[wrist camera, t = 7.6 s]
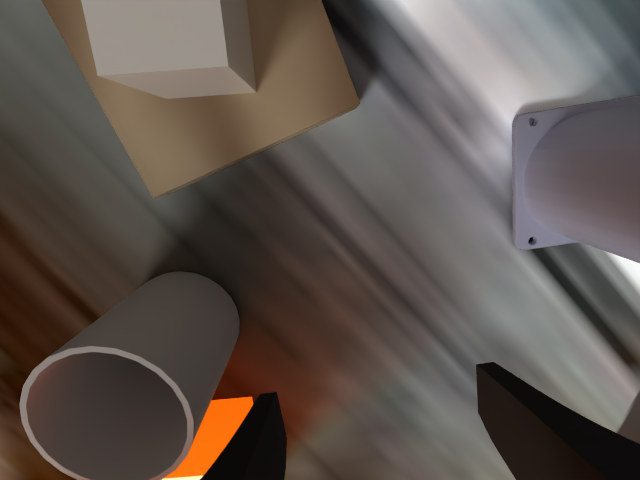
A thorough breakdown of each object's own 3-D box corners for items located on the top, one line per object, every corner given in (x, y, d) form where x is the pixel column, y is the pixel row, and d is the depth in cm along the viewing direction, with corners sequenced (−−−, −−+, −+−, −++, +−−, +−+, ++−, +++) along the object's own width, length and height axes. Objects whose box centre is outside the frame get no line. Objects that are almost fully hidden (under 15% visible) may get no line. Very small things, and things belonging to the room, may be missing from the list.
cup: (251, 282, 22) (206, 368, 13) (224, 407, 25) (172, 545, 16) (140, 256, 22) (21, 327, 13) (125, 386, 24) (16, 517, 16)
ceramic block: (245, -13, 16) (208, -95, 10) (256, 92, 17) (228, 66, 12) (149, -5, 16) (62, -84, 10) (166, 98, 17) (97, 75, 12)
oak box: (265, -124, 17) (253, -180, 14) (354, 110, 20) (360, 103, 17) (65, -13, 18) (16, -44, 15) (176, 191, 21) (152, 198, 18)
